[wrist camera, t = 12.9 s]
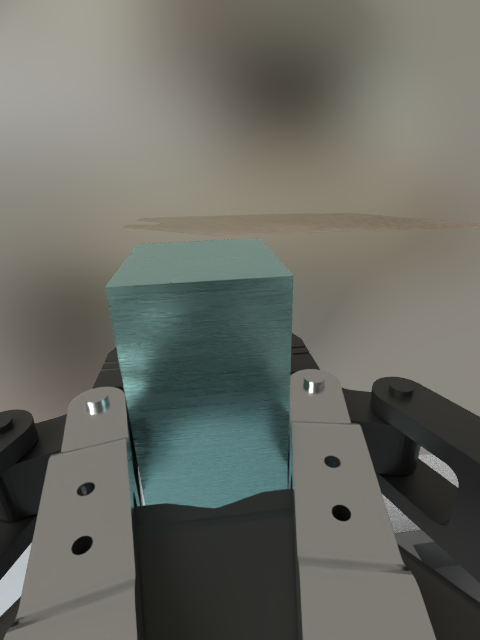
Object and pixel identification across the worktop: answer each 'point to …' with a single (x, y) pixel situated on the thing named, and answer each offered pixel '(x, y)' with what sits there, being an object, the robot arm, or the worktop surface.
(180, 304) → the brushed teal metal block
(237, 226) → the worktop surface
